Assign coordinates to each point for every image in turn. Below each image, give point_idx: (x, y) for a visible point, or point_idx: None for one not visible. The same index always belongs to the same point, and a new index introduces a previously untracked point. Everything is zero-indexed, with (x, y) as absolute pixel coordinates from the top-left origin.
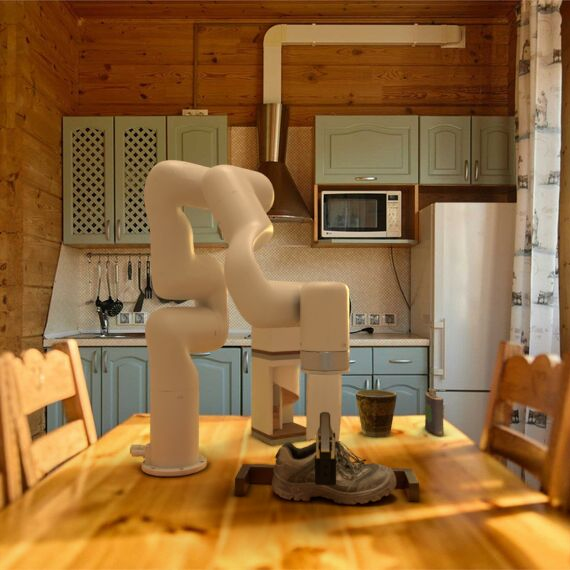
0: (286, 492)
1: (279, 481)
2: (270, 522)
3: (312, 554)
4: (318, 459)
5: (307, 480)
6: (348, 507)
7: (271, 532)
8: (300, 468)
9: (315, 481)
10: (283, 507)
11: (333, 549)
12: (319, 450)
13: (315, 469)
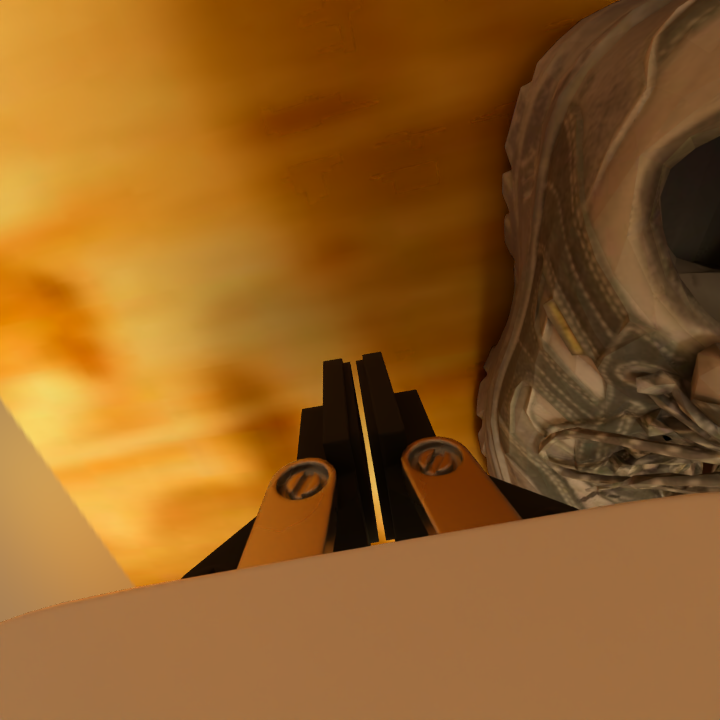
0: (524, 127)
1: (573, 66)
2: (244, 114)
3: (46, 346)
4: (328, 460)
5: (538, 255)
6: (464, 393)
7: (145, 148)
8: (579, 222)
9: (323, 367)
10: (428, 135)
11: (115, 399)
12: (188, 576)
13: (324, 401)
